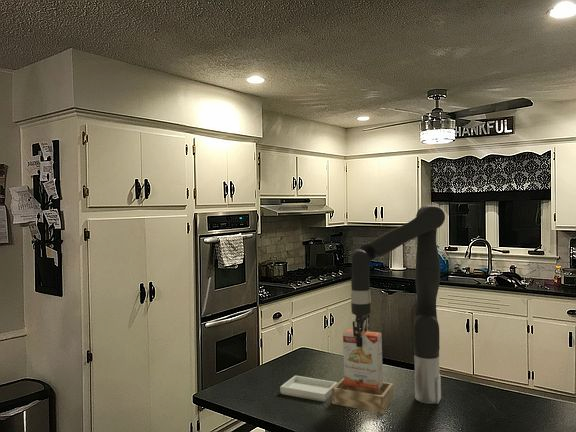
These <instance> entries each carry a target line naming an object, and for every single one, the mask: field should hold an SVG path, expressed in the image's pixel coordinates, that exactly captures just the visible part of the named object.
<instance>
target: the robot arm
mask: <svg viewBox="0 0 576 432" xmlns="http://www.w3.org/2000/svg"><path fill="white" fill-rule="evenodd" d="M445 220H446V214H445V212H444V210H443V209H442V208H441V207H440V206H436V205H423V206H421V207H420V208H419V209H418V210H417V212H416V215H415V218H413V219H412V220H410V221H408V222H406V223H404V224H403V225H401V226H399V227H395V228H394V229H391V230H389V231H387V232H385V233H383V234H382V235H380V236H378V237H376V238H375V239H372V241H370V242H368V243H365V244H364V245H361V246H359V247H357V248H355V249H354V250H353V251H352V252H350V255H349V261H350V263H351V270H352V272H351V273H352V276H351V281H350V283H351V285H350V287H351V291H350V292H351V293H350V307H351V314H353V315H354V316H355V319H354V321H352V330H353V334H354V337H356V346H357V347H362V334H363V332H364V331H370V330H371V328H370V327H371V316H370V314H371V313H372V299H371V297H372V296H371V295H372V294H371V285H370V270H371V261H372V260H375V259H376V258H380V257H384V256H385V255H387V254H389V253H390V252H392V251H394V250H395V249H397V248H399V247H401V246H402V245H403V244H405V243H407V242H409V241H410V240H411V241H412V240H413V239H417V243H416V257H415V272H414V273H415V274H414V275H415V277H414V278H415V290H416V306H415V314H414V319H413V320H414V321H413V338H414V339H413V340H414V342H413V343H414V344H413V345H414V346H413V347H414V349H413V350H414V397H415V398H414V399H415V400H416V401H417V402H420V403H422V404H423V403H424V404H428V405H430V404H431V405H432V404H434V405H435V404H436V405H438V404H440V401H441V399H442V387H441V386H442V383H441V382H442V381H441V377H442V375H441V374H440V347H441V346H440V345H441V344H440V325H439V322H438V314H437V312H438V311H437V296H438V294H439V290H440V289H439V287H440V283H441V282H440V281H441V260H440V254H439V250H438V246H437V230H438V229H439V228H440V227H442V226H443V225H444V223H445ZM360 331H361V332H360Z"/></svg>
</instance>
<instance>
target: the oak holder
mask: <svg viewBox="0 0 576 432" xmlns="http://www.w3.org/2000/svg"><path fill="white" fill-rule="evenodd" d="M331 398H332V399H331V400H332V404H333V405H337V406H344V407H348V408H353V409H359V410H365V411H370V412H375V413H381V414H384V413H385V412H386V410H387V409H388V407H389V406H390V404H391V403H392V402H393V400H394V398H395V397H394V383H391V382H386V381H385V382H384V381H383V385H382V387H381V388H380V389H379V390H373V389H367V388H361V387H355V386H349V385H344V377H342V378H341V379H340V380H339V381H338V383H337V384H336V385H335V386H334V387H333V388H332V396H331Z"/></svg>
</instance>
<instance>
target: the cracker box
mask: <svg viewBox="0 0 576 432" xmlns="http://www.w3.org/2000/svg"><path fill="white" fill-rule="evenodd" d="M360 332H361V331H360ZM382 335H383V334H382V332H379V331H378V332H377V331H370V330H368V331H364V332H363V334H362V347H357V346H356V337H354V334H353V329H349V328H348V329H347V330H345V331H344V332H343V333H342V338H343V339H342V341H343V342H342V347H343V348H342V349H343V351H342V352H343V378H344V385H349V386H355V387H361V388H367V389H373V390H379V389H380V388H381V387H382V385H383V382H384V380H383V378H384V377H383V375H384V374H383V371H384V369H383V343H382V338H383V337H382Z"/></svg>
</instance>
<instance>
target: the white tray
mask: <svg viewBox="0 0 576 432" xmlns="http://www.w3.org/2000/svg"><path fill="white" fill-rule="evenodd" d="M338 382H339V381H338ZM338 382H337V381H332V380H325V379H319V378H314V377H313V378H312V377H308V376H301V375H294V376H293V377H291V378H290V379H288V380H287V381H285V382H284V383H283V384H282V385H280V386H279V388H280V390H279V391H280V394H281V395H285V396H289V397H290V396H291V397H296V398H301V399H308V400H313V401H317V402H323V403H325V402H327V401H328V400H329V399H330V398H332V388H333V387H334V386H335V385H336V384H337V383H338Z"/></svg>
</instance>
